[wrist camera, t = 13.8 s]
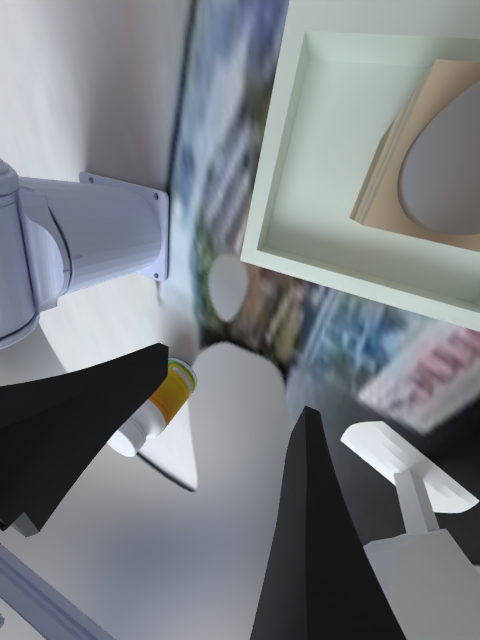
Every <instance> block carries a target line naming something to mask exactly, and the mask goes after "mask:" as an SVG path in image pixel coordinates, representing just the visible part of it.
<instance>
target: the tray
mask: <svg viewBox="0 0 480 640" xmlns="http://www.w3.org/2000/svg"><path fill="white" fill-rule="evenodd" d="M436 59H442V60H457V61H472V62H480V0H290V2H289V7H288V12H287V18H286V23H285V28H284V33H283V39H282V44H281V49H280V54H279V60H278V65H277V70H276V75H275V81H274V86H273V91H272V96H271V102H270V107H269V112H268V117H267V123H266V128H265V133H264V138H263V144H262V149H261V154H260V159H259V165H258V170H257V175H256V180H255V186H254V191H253V196H252V201H251V207H250V212H249V217H248V222H247V228H246V233H245V238H244V243H243V249H242V254H241V259H240V261H243V262H247V263H250V264H254V265H257V266H260V267H264V268H267V269H270V270H274V271H277V272H280V273H284V274H287V275H290V276H294V277H297V278H300V279H304V280H307V281H311V282H314V283H317V284H321V285H324V286H327V287H331V288H334V289H337V290H341V291H344V292H347V293H351V294H354V295H357V296H361V297H364V298H368V299H371V300H374V301H378V302H381V303H384V304H388V305H391V306H394V307H398V308H401V309H404V310H408V311H411V312H414V313H418V314H421V315H425V316H428V317H431V318H435V319H438V320H441V321H445V322H448V323H451V324H455V325H458V326H461V327H465V328H468V329H471V330H475V331H478V332H480V252H476V251H471V250H467V249H463V248H458V247H454V246H450V245H445V244H441V243H437V242H432V241H428V240H424V239H419V238H415V237H411V236H406V235H402V234H398V233H393V232H389V231H385V230H381V229H376V228H372V227H368V226H363V225H361V224H359V223H358V222H356V221H354V220H352V219H350V218H349V216H350V214H351V212H352V209H353V207H354V204H355V202H356V199H357V197H358V194H359V192H360V189H361V187H362V184H363V182H364V179H365V177H366V174H367V172H368V169H369V167H370V164H371V162H372V160H373V157H374V155H375V152H376V150H377V147H378V145H379V142H380V140H381V139H382V137H383V136H384V134H385V133H386V131H387V130H388V128H389V127H390V125H391V124H392V123H393V121H394V120H395V118H396V117H397V115H398V114H399V112H400V111H401V109H402V108H403V107H404V105H405V104H406V102H407V101H408V99H409V98H410V96H411V95H412V93H413V92H414V90H415V89H416V88H417V86H418V85H419V83H420V82H421V80H422V79H423V77H424V76H425V74H426V73H427V72H428V70H429V69H430V67H431V66H432V64H433V63H434V61H435V60H436Z"/></svg>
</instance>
